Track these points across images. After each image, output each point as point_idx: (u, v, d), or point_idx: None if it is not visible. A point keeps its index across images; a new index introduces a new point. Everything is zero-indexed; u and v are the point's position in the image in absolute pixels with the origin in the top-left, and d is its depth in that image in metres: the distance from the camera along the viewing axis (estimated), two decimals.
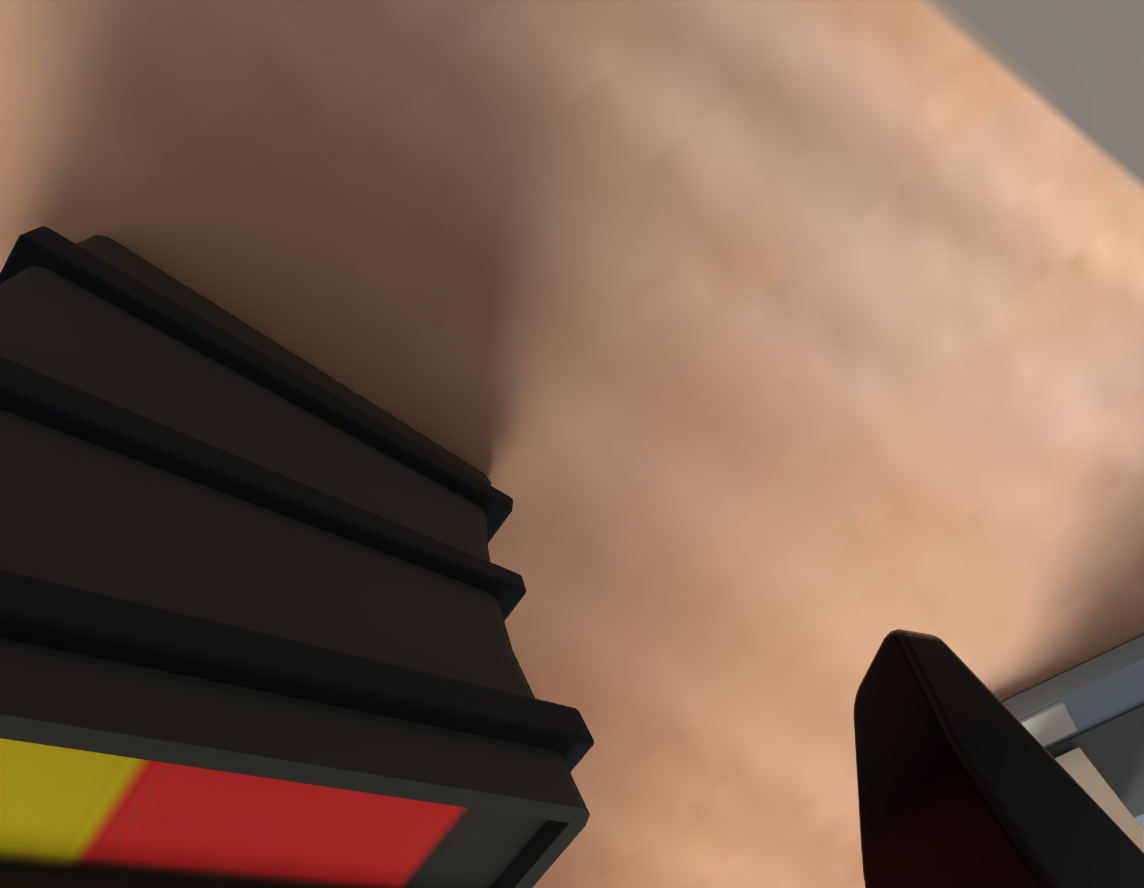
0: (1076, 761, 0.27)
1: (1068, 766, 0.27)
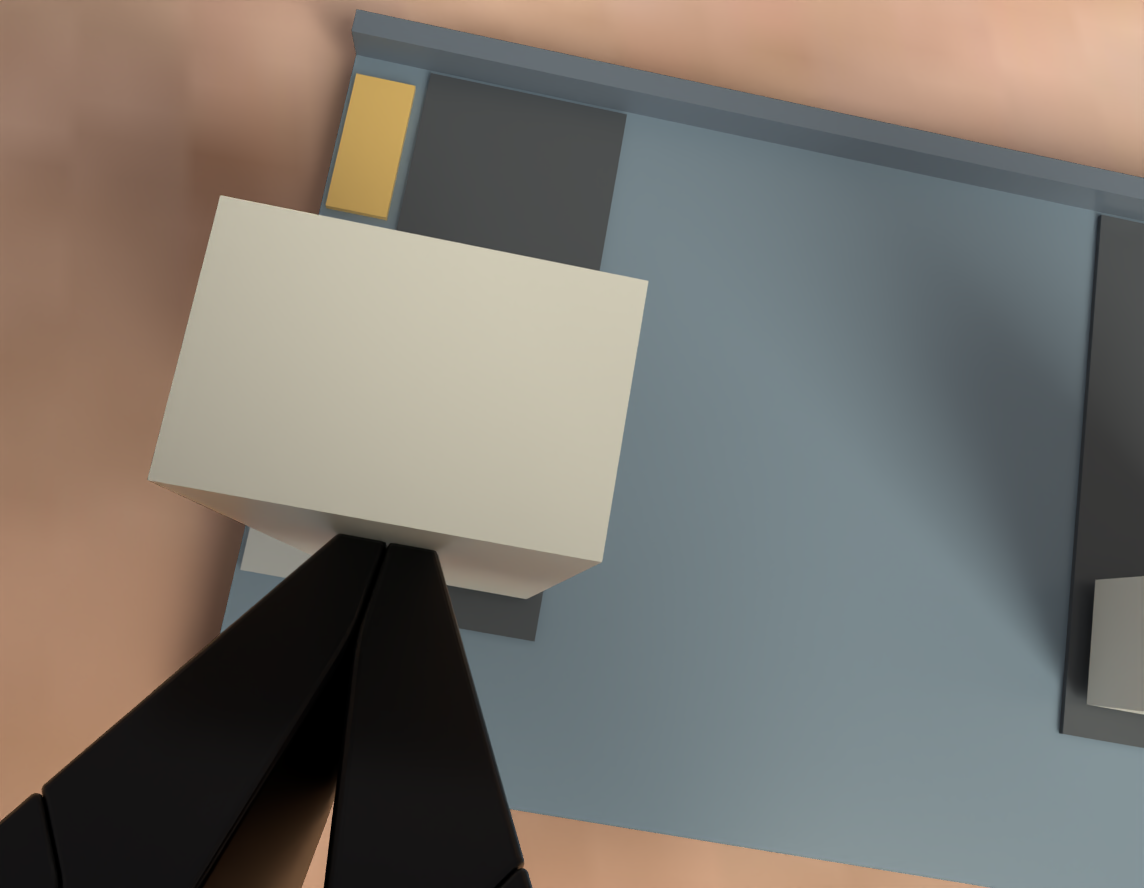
0: None
1: None
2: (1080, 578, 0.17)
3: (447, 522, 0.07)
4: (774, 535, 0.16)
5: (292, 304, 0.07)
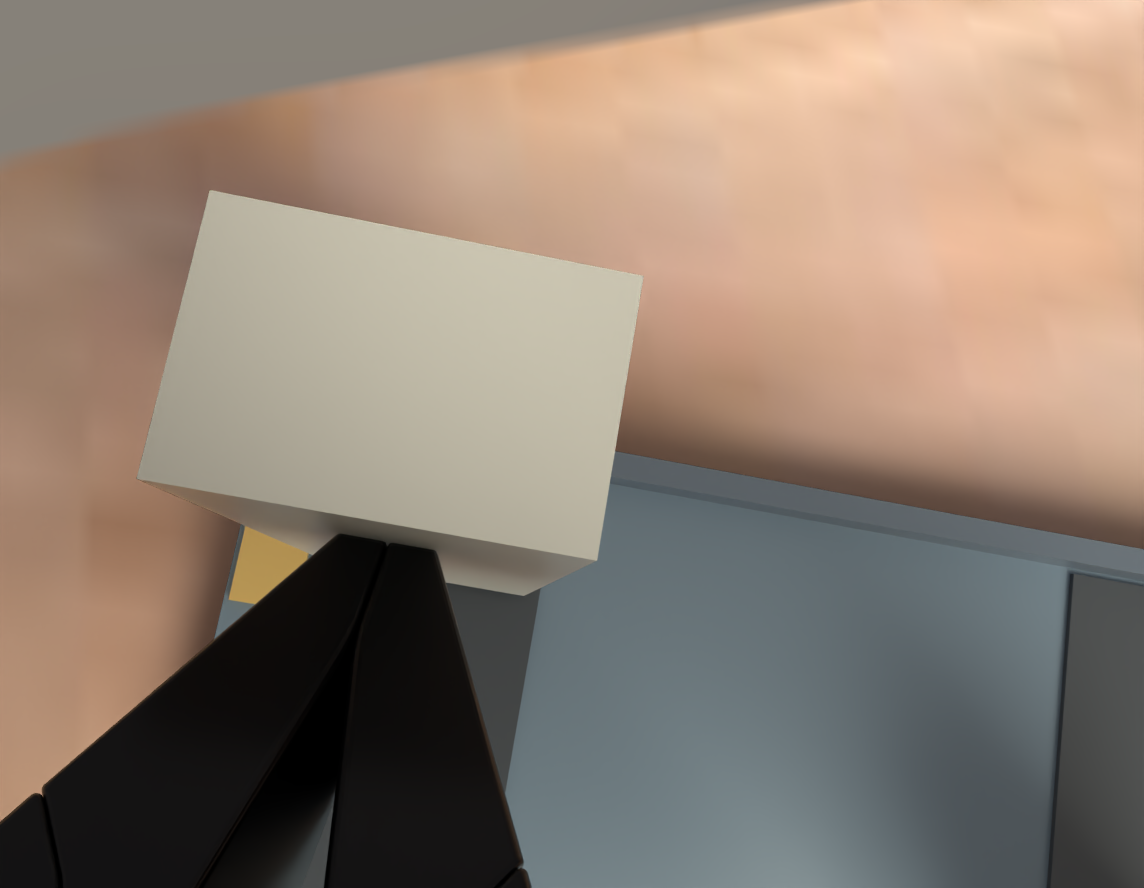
0: None
1: None
2: None
3: (443, 522, 0.07)
4: None
5: (282, 301, 0.07)
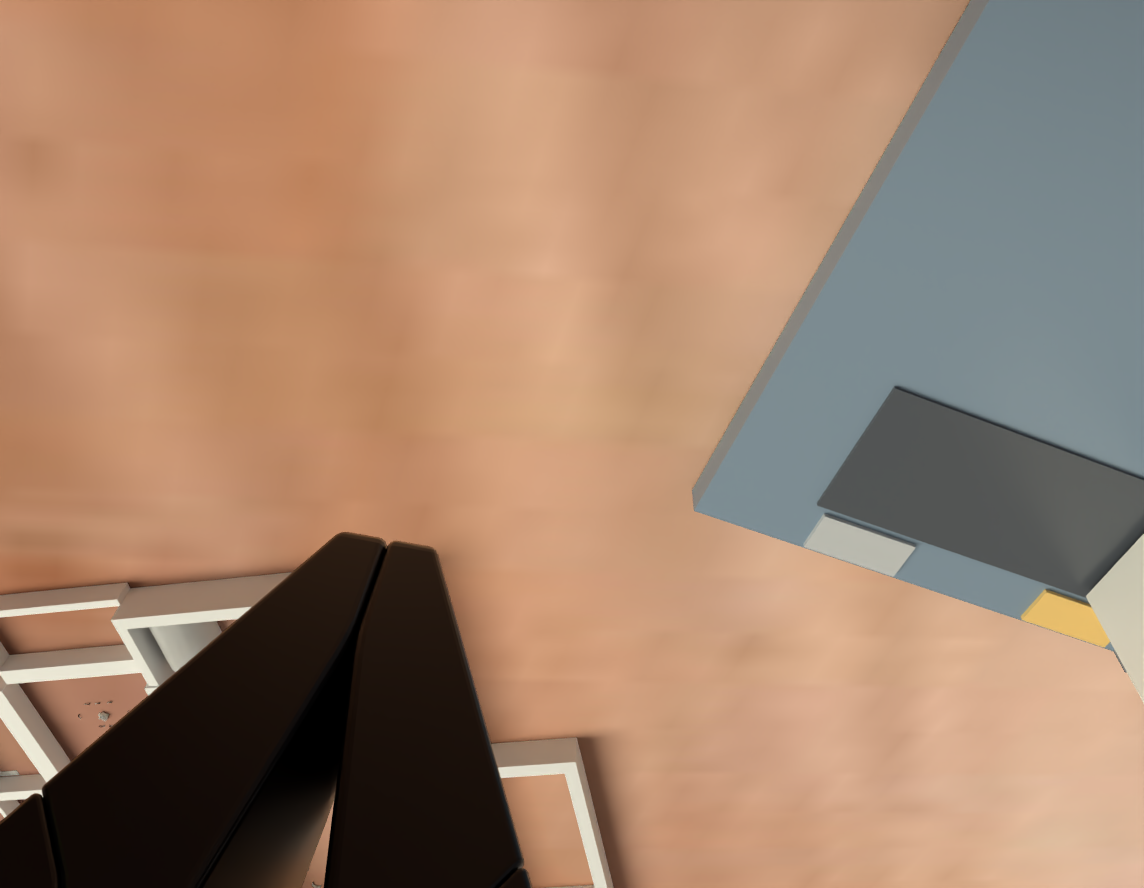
0: None
1: None
2: (993, 429, 0.22)
3: None
4: (1142, 215, 0.19)
5: None
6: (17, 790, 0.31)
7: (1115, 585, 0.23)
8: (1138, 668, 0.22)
